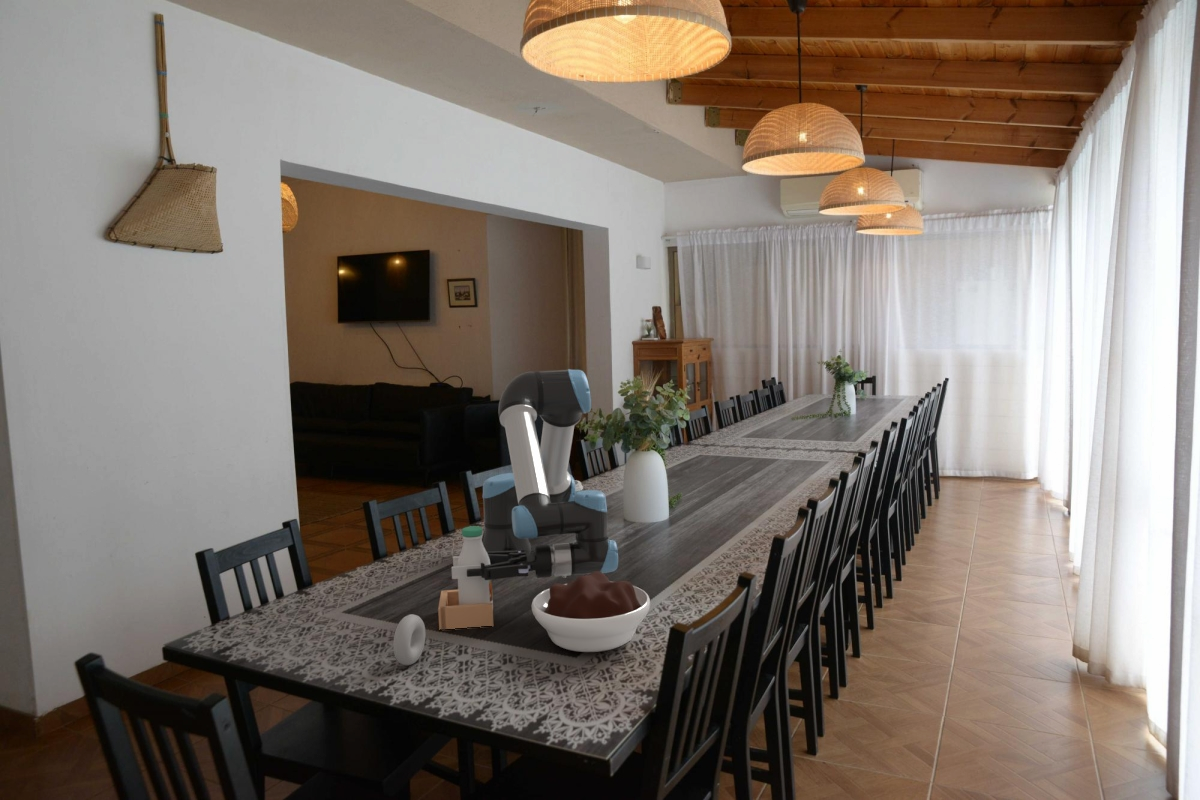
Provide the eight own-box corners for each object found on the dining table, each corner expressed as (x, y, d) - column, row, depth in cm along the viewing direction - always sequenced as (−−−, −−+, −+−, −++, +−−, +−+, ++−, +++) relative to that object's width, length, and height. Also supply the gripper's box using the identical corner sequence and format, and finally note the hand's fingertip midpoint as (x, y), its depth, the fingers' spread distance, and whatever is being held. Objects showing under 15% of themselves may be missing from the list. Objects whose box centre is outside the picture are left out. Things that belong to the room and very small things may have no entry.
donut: (407, 674, 165) (404, 625, 164) (391, 673, 165) (388, 624, 165) (429, 654, 174) (427, 607, 173) (414, 653, 175) (412, 606, 174)
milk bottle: (486, 618, 190) (482, 532, 188) (454, 617, 192) (450, 532, 190) (497, 607, 198) (493, 524, 196) (466, 606, 199) (462, 523, 197)
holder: (493, 607, 202) (492, 586, 201) (493, 626, 189) (492, 604, 189) (442, 611, 200) (441, 590, 200) (439, 630, 187) (438, 609, 187)
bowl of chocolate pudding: (543, 621, 191) (541, 556, 190) (653, 621, 189) (651, 556, 187) (522, 666, 167) (519, 592, 165) (648, 667, 164) (646, 592, 163)
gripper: (555, 589, 186) (451, 597, 183) (548, 563, 206) (454, 570, 203) (554, 556, 186) (449, 564, 183) (547, 533, 206) (453, 540, 203)
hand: (452, 567), depth 193 cm, fingers closed on milk bottle, 7 cm apart
